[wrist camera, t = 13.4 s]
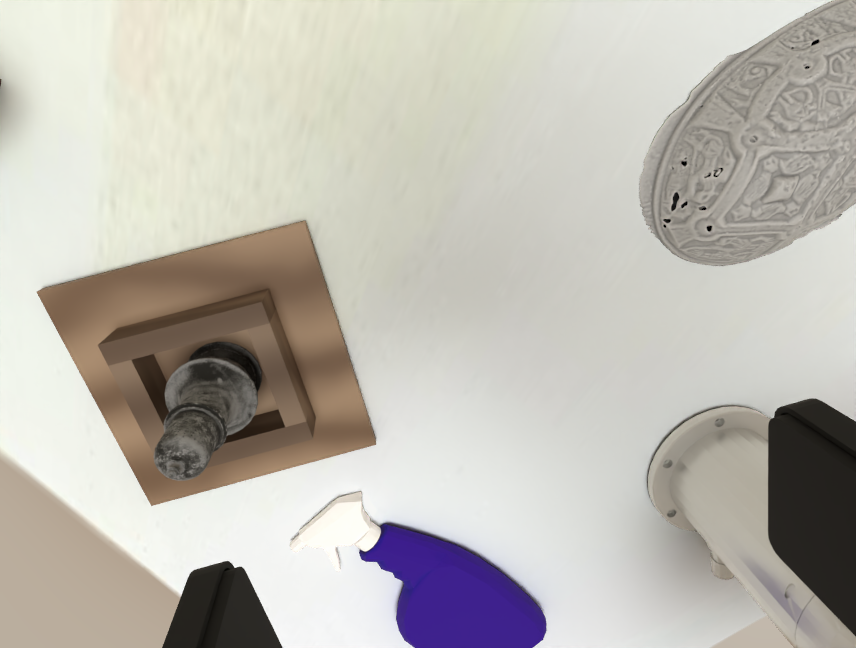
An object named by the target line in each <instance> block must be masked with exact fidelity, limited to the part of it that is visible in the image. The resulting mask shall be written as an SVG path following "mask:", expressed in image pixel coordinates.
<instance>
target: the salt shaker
mask: <svg viewBox="0 0 856 648" xmlns="http://www.w3.org/2000/svg"><path fill="white" fill-rule="evenodd" d="M261 382H262V371H261V368H260V365H259V363H258V361H257V360H256V358H255V357H254V356H253V355H252V354H251V353H250V352H249V351H248V350H247V349H245V348H243V347H241V346H239V345H237V344H234V343H230V342H213V343H209V344H206V345H204V346H202V347H200V348H198V349H197V350H196V351H195V352H194V353H193V354H192V355H191V356H190V358H189V360H188V362H187V363H185V364H183V365H181V366H180V367H179V368H178V369H177V370H176V371H174V372H173V373H172V375H171V377H170V378H169V380H168V382H167V384H166V389H165V402H166V406H167V408H168V410H169V413H168V415H167V417H166V418H165V421H164V426H163V427H164V434H163V436H162V437H161V439H160V441H159V442H158V444H157V446H156V447H155V451H154V463H155V465H156V467H157V469H158V470H159V471H160V472H161V473H162V474H163V475H164V476H166V477H168V478H170V479H172V480H177V481H185V480H190V479H193V478H195V477H197V476H199V475H200V474H201V473H202V472H203V471H204V470H205V468H206V467H207V465H208V463H209V460H210V458H211V456H212V453H213V452H215V451H217V450H218V449H219V448H220V447H221V446H222V445H223V443H224V442H225V440H226V437H227V436H228V435H232V434H234V433H236V432H238V431H240V430H242V429H243V428H244V427H245V426H246V425H248V424H249V423H250V421H251V420H252V418H253V417H254V415H255V413H256V409H257V405H258V393H257V392H258V390H259V389H260V386H261Z"/></svg>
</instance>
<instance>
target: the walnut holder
mask: <svg viewBox="0 0 856 648" xmlns="http://www.w3.org/2000/svg"><path fill="white" fill-rule="evenodd" d="M37 294H38V296H39V297H40V299H41V301H42V303H43V305H44V307H45V309H46V310H47V312H48V314H49V316H50V318H51V320H52V322H53V324H54V325H55V327H56V329H57V331H58V333H59V335H60V337H61V338H62V340H63V342H64V344H65V346H66V348H67V350H68V351H69V353H70V355H71V357H72V359H73V361H74V363H75V364H76V366H77V368H78V370H79V372H80V374H81V376H82V377H83V379H84V381H85V383H86V385H87V387H88V389H89V390H90V392H91V394H92V396H93V398H94V400H95V402H96V404H97V405H98V407H99V409H100V411H101V413H102V415H103V417H104V418H105V420H106V422H107V424H108V426H109V428H110V430H111V431H112V433H113V435H114V437H115V439H116V441H117V443H118V444H119V446H120V448H121V450H122V452H123V454H124V456H125V457H126V459H127V461H128V463H129V465H130V467H131V469H132V470H133V472H134V474H135V476H136V478H137V480H138V482H139V484H140V485H141V487H142V489H143V491H144V493H145V495H146V497H147V498H148V500H149V502H150V504H151V506H153V505H156V504H160V503H164V502H167V501H171V500H175V499H178V498H182V497H186V496H189V495H193V494H197V493H200V492H204V491H208V490H211V489H215V488H219V487H222V486H226V485H230V484H233V483H237V482H241V481H244V480H248V479H252V478H255V477H259V476H263V475H266V474H270V473H274V472H277V471H281V470H285V469H288V468H292V467H296V466H299V465H303V464H307V463H310V462H314V461H318V460H321V459H325V458H329V457H332V456H336V455H340V454H343V453H347V452H351V451H354V450H358V449H362V448H365V447H369V446H373V445H376V438H375V435H374V432H373V429H372V426H371V423H370V420H369V416H368V413H367V410H366V407H365V404H364V401H363V398H362V395H361V392H360V388H359V385H358V382H357V379H356V376H355V373H354V370H353V367H352V364H351V360H350V357H349V354H348V351H347V348H346V345H345V342H344V339H343V336H342V332H341V329H340V326H339V323H338V320H337V317H336V314H335V311H334V308H333V304H332V301H331V298H330V295H329V292H328V289H327V286H326V283H325V280H324V276H323V273H322V270H321V267H320V264H319V261H318V258H317V255H316V252H315V248H314V245H313V242H312V239H311V236H310V233H309V230H308V227H307V223H306V220H305V221H302V222H298V223H294V224H290V225H286V226H282V227H278V228H275V229H271V230H267V231H263V232H259V233H255V234H251V235H247V236H244V237H240V238H236V239H232V240H228V241H224V242H220V243H217V244H213V245H209V246H205V247H201V248H197V249H193V250H189V251H186V252H182V253H178V254H174V255H170V256H166V257H162V258H159V259H155V260H151V261H147V262H143V263H139V264H135V265H131V266H128V267H124V268H120V269H116V270H112V271H108V272H104V273H101V274H97V275H93V276H89V277H85V278H81V279H77V280H73V281H70V282H66V283H62V284H58V285H54V286H50V287H46V288H43V289H41V290H39V291H37ZM213 342H230V343H234V344H237V345H239V346H241V347H243V348H245V349H247V350H248V351H249V352H250V353H251V354H252V355H253V356H254V357H255V358H256V360H257V361H258V363H259V365H260V368H261V371H262V382H261V386H260V389H259V390H258V392H257V393H258V405H257V409H256V413H255V415H254V417H253V418H252V420H251V421H250V423H249V424H248V425H246V426H245V427H244V428H243V429H242V430H240V431H238V432H236V433H234V434H232V435H228V436H227V437H226V440H225V442H224V443H223V445H222V446H221V447H220V448H219V449H218V450H217V451H215V452H213V453H212V456H211V458H210V460H209V463H208V465H207V467H206V468H205V470H204V471H203V472H202V473H201V474H200V475H199V476H197V477H195V478H193V479H190V480H185V481H177V480H172V479H170V478H168V477H166V476H164V475H163V474H162V473H161V472H160V471H159V470H158V469H157V467H156V465H155V463H154V451H155V447H156V446H157V444H158V442H159V441H160V439H161V437H162V436H163V434H164V427H163V426H164V421H165V418H166V417H167V415H168V413H169V410H168V408H167V406H166V402H165V389H166V384H167V382H168V380H169V378H170V377H171V375H172V373H173V372H174V371H176V370H177V369H178V368H179V367H180V366H181V365H183V364H185V363H187V362H188V360H189V358H190V356H191V355H192V354H193V353H194V352H195V351H196V350H197V349H198V348H200V347H202V346H204V345H206V344H209V343H213Z"/></svg>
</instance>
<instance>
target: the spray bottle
mask: <svg viewBox="0 0 856 648" xmlns="http://www.w3.org/2000/svg"><path fill="white" fill-rule="evenodd" d="M353 544H354V545H355V546H357V547H358V548H360V552H359V554H360V557H361V559H362V560H364V561H366V562H377V563H378V564H379V566H380V567H381V569H383V570H385V571H389V572H393V575H394V577H395V578H397V579H399V580H401V581H403V583H404V586H403V589H402V592H401V595H400V598H399V601H398V608H397V616H396V620H397V624H398V628H399V631H400V633H401V635H402V637H403V638H404V640H405V641H406V642H408V643H409V644H410V645H412V646H413V647H415V648H533V647H534V646H535V645H537V644H538V643H539V642H540V641H542V640H543V638H544V635H545V633H546V619H545V616H544V614H543V612H542V610H541V609H540V608H539V607H538V606H537V605H536V603H535V602H534V601H533V600H532V599H531V598H530V597H529V596H528V595H527V594H526V593H525V592H524V591H523V590H521V589H520V588H519V587H518V586H517V585H516V584H515V583H513V582H512V581H511V580H510V579H509V578H508V577H507V576H506V575H504V574H503V573H502V572H500V571H499V570H497V569H496V568H494V567H493V566H491V565H490V564H488V563H487V562H485V561H484V560H483V559H481V558H480V557H478V556H476V555H474V554H472V553H470V552H468V551H467V550H465V549H463V548H461V547H459V546H457V545H455V544H451V543H448V542H444V541H441V540H439V539H436V538H433V537H430V536H427V535H423V534H420V533H417V532H413V531H409V530H406V529H402V528H398V527H394V526H390V525H386V524H384V525H382V526H380V527H379V526H377V525H376V524H374V523H373V522H371V521H370V517H369V516H368V515H367V513H366V512H365V511H364V509H363V506H362V493H361V491H360V492H357V493H353V494H350V495H346V496H342V497H339V498H337V499H335V500H334V501H333V502H332V503H331V504H330V505H329V506H327V507H326V508H325V509H324V510H323V511H322V512H320V513H319V514H318V515H317V516H316V517H315V518H314V519H312V520H311V521H310V522H309V523H308V524H307V525H306V526H304V527H303V528H302V529H301V530H300V531H299V535H298V536H297V537H296V538H295V539H294V540H292V541H291V542H290V548H291V550H292V551H294V552H298V551H300V550H301V549H303V548H304V547H305V546H309V547H311V548H322V549H323V550H324V551H325V552H326V553H327V554H328V556H329V558H330V560H331V562H332V563H333V565H334V567H335V569H336V571H337V572H339V571H340V561H339V556H338V553H337V549H336V546H352V545H353Z"/></svg>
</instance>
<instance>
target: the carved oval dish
mask: <svg viewBox="0 0 856 648" xmlns="http://www.w3.org/2000/svg"><path fill="white" fill-rule="evenodd" d="M817 39H818V40H819V43H817V44H815V45H813V46H811V44H812V42H814V41H815V40H817ZM792 47H794V49H791V48H792ZM806 66H808V67H809V68H808V69H805V67H806ZM702 105H703V107H701V106H702ZM686 157H687V159H684V158H686ZM682 161H684V162H685V161H687V165H686V166H683V165H682V164H681V162H682ZM688 162H689V163H688ZM672 167H673V168H674V169H672ZM719 168H723V171H722V172H721V169H719ZM713 170H718V172H716V175H719V176H718V177H714V176H713V175H714V173H715V171H713ZM720 172H721V173H720ZM709 173H711V176H709V177H707V176H708V175H709ZM719 173H720V174H719ZM704 177H707V178H704ZM676 192H678V194H679V200H678V201H677V204H676V205H677V206H676V209H675V210H674V211H671V206H672V204H673V196H674V193H676ZM639 197H640V202H641V204H640V206H641V207H642V208H643V209H642V211H643V212H642V214H643V216H644V217H645V221H646V225H649V226H650V227H649V228H648V229H652V231H651V233H654V234H655V237H657V238H658V239H659V240H660V241H661V243H662V244H663V245H664V246H666V248H668V249H669V250H670V251H671V252H672V253H673V254H674V255H676V256H678V257H680V258H682V259H685V260H687V261H690V262H694V263H700V264H705V265H714V266H718V265H721V266H725V265H733V264H737V263H742V262H747V261H750V260H753V259H756V258H758V257H762V256H765V255H767V254H771V253H773V252H775V251H778V250H780V249H782V248H784V247H786V246H788V245H790V244H792V243H793V241H794V240H796V239H798V238H801V237H804V236H806V235H807V234H808V233H810V232H811V231H813V230H817V229H821V228H823V227H825V226H827V225H828V224H831V222H833V221H835V220H837V219H838V218H839V217H840V216H841V215H842V214H841V213H842V212H844V211H845V210H847V209H848V208H850V207H851V206H853V205H854V204H855V203H856V0H834V1H831V2H829V3H827V4H825V5H823V6H821V7H819V8H817V9H815V10H813V11H811V12H809V13H806V14H805V16H803V17H800V18H798V19H796V20H794V21H793V22H791V23H789V24H788V25H786V26H784V27H783V28H781V29H779V30H778V31H776V32H774V33H773V34H771V35H770V36H768V37H767V38H765V39H764V40H762V41H760V42H759V43H757V44H756V45H754V46H752V47H751V48H749V49H747V50H745V51H743V52H740V53H737V54H734V55H729V56H727V57H726V58H725V60H724V61H722V62H720V63H719V64H718V65H717V66H716V67H715V69H714V70H713V71H712V72H711V73H709V74H708V76H707V77H705V78H704V79H703V80H702V82H701V83H700V84H699V85H698V86H697V87H696V88H695V89H693V91H692V92H691V94H690V97H689V99H688V101H687V102H686V103H685V104H684V105H682V106H680V107H679V108H678V109H677V110H676V111H674V112H673V113H672V114H671V115H670V116H669V117H668V118H667V120H666V121H665V122H664V124H663V125H662V126H661V128H660V129H659V130H658V132H657V134H656V136H655V138H654V140H653V142H652V144H651V146H650V148H649V151H648V153H647V155H646V157H645V160H644V169H643V172H642V174H641V176H640V183H639ZM685 201H688V204H687V205H686V206H684V208H681V205H682V204H683V203H685ZM702 206H705V207H706V208H707V209H706V210H699V207H702ZM702 208H703V207H702ZM663 219H671V222H669V223H666V222H665V221H663ZM663 225H666V228H665V227H664V226H663ZM707 226H712V228H711V229H712V230H711V231H708V230H707ZM795 228H796V229H795Z"/></svg>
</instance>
